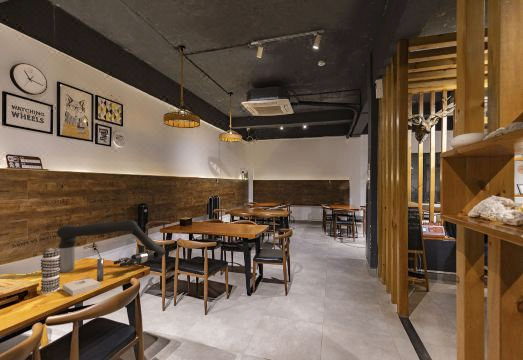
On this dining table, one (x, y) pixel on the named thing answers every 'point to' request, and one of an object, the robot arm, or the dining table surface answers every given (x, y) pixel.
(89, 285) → the hole plate
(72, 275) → the dining table surface
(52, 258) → the tiered tower model
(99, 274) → the metal pin
